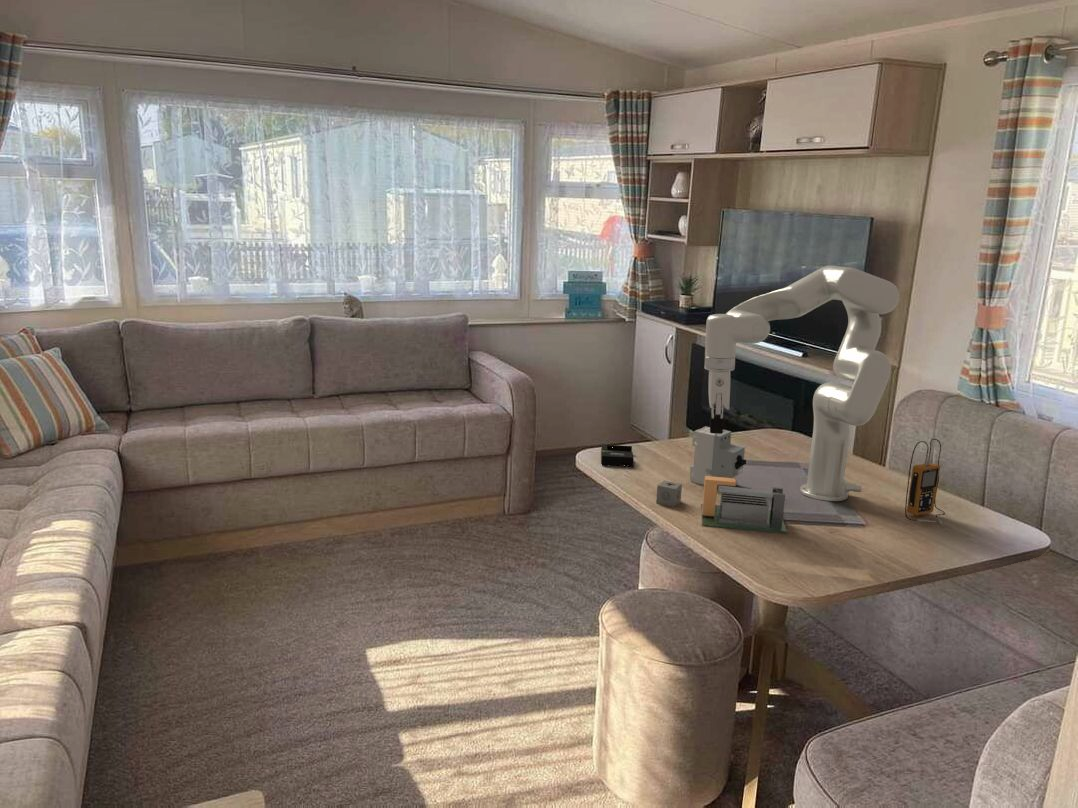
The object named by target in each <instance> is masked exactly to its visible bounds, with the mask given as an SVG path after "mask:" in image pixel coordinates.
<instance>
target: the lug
mask: <svg viewBox="0 0 1078 808" xmlns="http://www.w3.org/2000/svg"><path fill="white" fill-rule="evenodd" d="M717 484H718V485H720V486H729V487H736V485H737V481H736V478H735V477H733V478H724V477H713V476H705V483H704V485H703V496H702V498H703V499H702V504H703V506H702V511H701V516H702V515H705V516H715V505H717V491H718V487H717Z"/></svg>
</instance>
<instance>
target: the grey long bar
mask: <svg viewBox="0 0 1078 808" xmlns="http://www.w3.org/2000/svg"><path fill="white" fill-rule="evenodd" d="M717 491H718V492H720V493H721V492H722V493H733V494H744V495H755V496H764V497H766V498H772V497H774V494H775V493H780V492H779V491H777V492H772V490H765V489H764V490H763V489H754V488H746V487H738V486H737V487H736V486H729V485H719V486H718V487H717Z"/></svg>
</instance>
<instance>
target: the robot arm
mask: <svg viewBox="0 0 1078 808" xmlns="http://www.w3.org/2000/svg"><path fill="white" fill-rule="evenodd" d="M833 300H837V301H842V304H843V306H844V308H845V310H846V313H847V319H848V323H847V328H846V330H845V334H844V336H843V338H842V341H841V344H840V346H839V348H838V351H837V352H836V355H835V358H834V360H833V363H832V370H833V373H834V374H835V375H836V376H837V377H839V378H841V379H844V380H846V381H849V382H852V386H851V385H846V384H843V383H840V382H835V381H827V382H824V383H823V384H820V385H819V386H818V387H817V388H816V389H815V391H814V394H813V398H812V410H813V411H812V412H813V426H812V427H813V428H812V436H811V437H812V438H811V446H810V455H809V461H808V462H809V463H808V471H807V479H806V483H804V484H802V485H801V486H800V488H799V489H800V493H801V494H803V495H804V496H805V497H808V498H810V499H811V498H812V499H816V500H820V501H824V502H825V501H826V502H841V501H845V500H847V499H848V498H849V497H848V496H849V492H854V493H862V487H863V486H862V485H861V484H855V482H847V481H846V480H845V476H846V475H845V474H846V468H847V458H848V451H849V444H850V435H851V434H850V432H851V431H850V425H851V426H856V427H857V426H858V427H859V426H863V425H865V424H867V423H868V422H870V420H871V419H872V417H873V416H874V415H875V413H876V411H877V408H878V406H879V403H880V401H881V400H882V397H883V394H884V392H885V390H886V387H887V386H888V383H889V380H890V377H891V372H892V365H891V361H890V359H889V357H888V356H887V355H886V354H885V353H883V352H882V351H880V350H876V348H877V344H878V341H879V339H880V337H881V332H882V323H881V317H880V315H885V314H889V313H891V312H892V311H893V310H895V309H896V307H897V306H898V304H899V302H900V291H899V288H898V287H897V286H896V285H895V284H894V283H893V282H891V281H889V280H887V279H885V278H881V277H878V276H876V275H873V274H871V273H869V272H865V271H863V270H860V269H857V268H855V267H849V266H838V265H826V266H823V267H821V268H819V269H816V270H814V271H813V272H810V273H809V274H808V275H806V276H804V277H802V278H800V279H798V280H797V281H795V282H793V283H792V284H789V285H788V286H785V287H782V288H779V289H777V290H772V291H771V292H767V293H764V294H760V295H758V296H754V297H752V298H750V299H748V300H745V301H743V302H741V303H739V304H737V305H736V306H734V307H732V308H731V309H730V310H728V311H727V312H726V313H714V314H709V315H708V317H707V319H706V325H705V347H704V365H703V366H704V369H705V371H706V370H707V371H708V403H709V408H710V409H711V412H710V413H711V414H710V415H711V416H710V420H709V427H710V433H715V434H722V433H723V430H724V409H726V410H729V409H730V404H731V402H730V398H731V397H730V396H731V372H732V371H734V370H735V367H736V351H737V350H736V348H737V347H736V346H737V343H740V344H751V345H752V344H754V345H755V344H758V343H761V342H764V341H765V340H766V338H768V336H769V334H770V332H771V325H770V322H772V321H776V320H777V321H778V320H790V319H796V318H800V317H802V316H804V315H806V314H808V313H810V312H812V311H813V310H815V309H816V308H819V307H820V306H822V305H824V304H826V303H827V302H830V301H833Z"/></svg>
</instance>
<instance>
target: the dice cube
mask: <svg viewBox="0 0 1078 808" xmlns="http://www.w3.org/2000/svg"><path fill="white" fill-rule="evenodd" d="M656 486H657V487H656V501H655V503H656V504H659V505H661V506H662V505H663V506H666V507H667V506H668V507H673V508H675V507H676V506H678V504H679V503H681V502H682V501H681V500H682V491H683V490H682V487H683V484H682V483H679V482H674V481H670V480H669V481H668V480H663V481H661V482H660V483H659V484H658V485H656Z"/></svg>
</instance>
